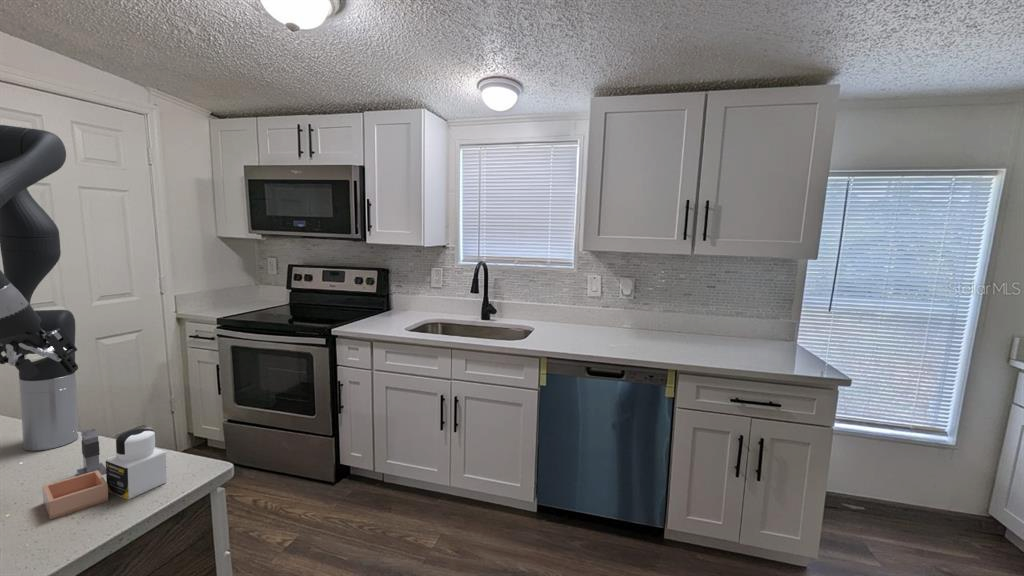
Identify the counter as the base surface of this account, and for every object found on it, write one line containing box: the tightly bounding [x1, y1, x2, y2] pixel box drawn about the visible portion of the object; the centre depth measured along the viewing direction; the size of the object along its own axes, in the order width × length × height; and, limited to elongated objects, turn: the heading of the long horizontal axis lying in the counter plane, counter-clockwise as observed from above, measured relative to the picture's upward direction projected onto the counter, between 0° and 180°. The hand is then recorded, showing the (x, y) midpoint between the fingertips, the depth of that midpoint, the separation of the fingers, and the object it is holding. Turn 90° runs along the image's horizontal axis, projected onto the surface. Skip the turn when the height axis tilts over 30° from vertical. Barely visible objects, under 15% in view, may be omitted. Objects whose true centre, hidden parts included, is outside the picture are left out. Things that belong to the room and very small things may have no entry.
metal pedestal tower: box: [76, 428, 106, 476], centre depth 92 cm, size 4×4×10 cm
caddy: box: [42, 470, 109, 521], centre depth 82 cm, size 8×8×4 cm
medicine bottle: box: [105, 428, 168, 501], centre depth 88 cm, size 7×7×12 cm
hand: (53, 373), depth 89 cm, fingers open, 8 cm apart
